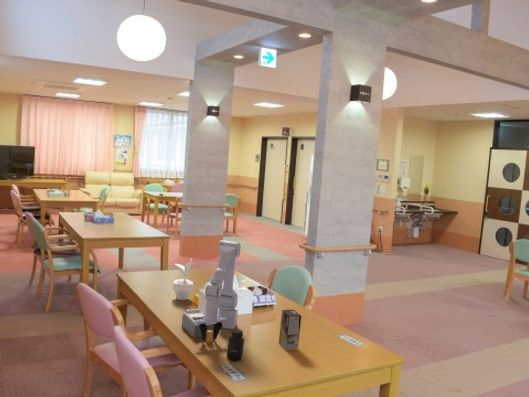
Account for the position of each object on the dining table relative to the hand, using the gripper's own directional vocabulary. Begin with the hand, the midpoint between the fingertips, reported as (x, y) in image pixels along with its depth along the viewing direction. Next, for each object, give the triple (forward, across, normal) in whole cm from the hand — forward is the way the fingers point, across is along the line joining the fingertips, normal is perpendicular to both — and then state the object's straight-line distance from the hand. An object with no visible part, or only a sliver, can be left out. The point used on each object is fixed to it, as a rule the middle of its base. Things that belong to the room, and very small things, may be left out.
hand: (209, 339), depth 223 cm
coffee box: (+2, +34, -14) cm, 37 cm away
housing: (+1, 0, +14) cm, 14 cm away
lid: (-5, 0, +18) cm, 19 cm away
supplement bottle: (+2, +4, -19) cm, 20 cm away
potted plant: (+2, +10, +63) cm, 64 cm away
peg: (+1, 0, 0) cm, 1 cm away
